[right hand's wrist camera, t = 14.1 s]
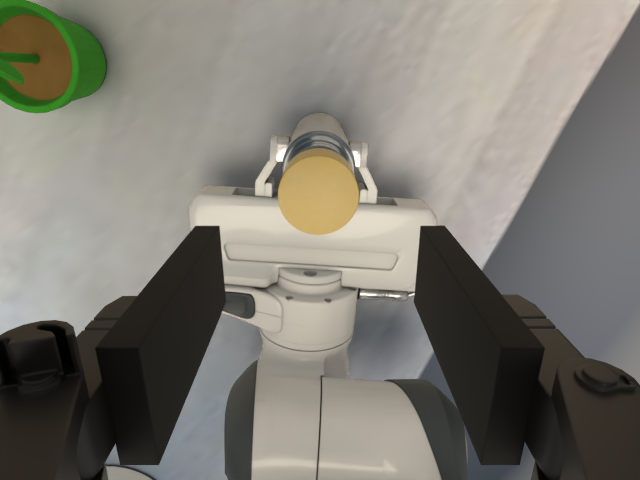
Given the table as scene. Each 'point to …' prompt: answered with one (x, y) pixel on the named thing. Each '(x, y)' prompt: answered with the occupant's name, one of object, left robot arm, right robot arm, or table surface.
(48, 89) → the potted flower
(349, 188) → the cap
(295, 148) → the bottle
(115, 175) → the table surface
